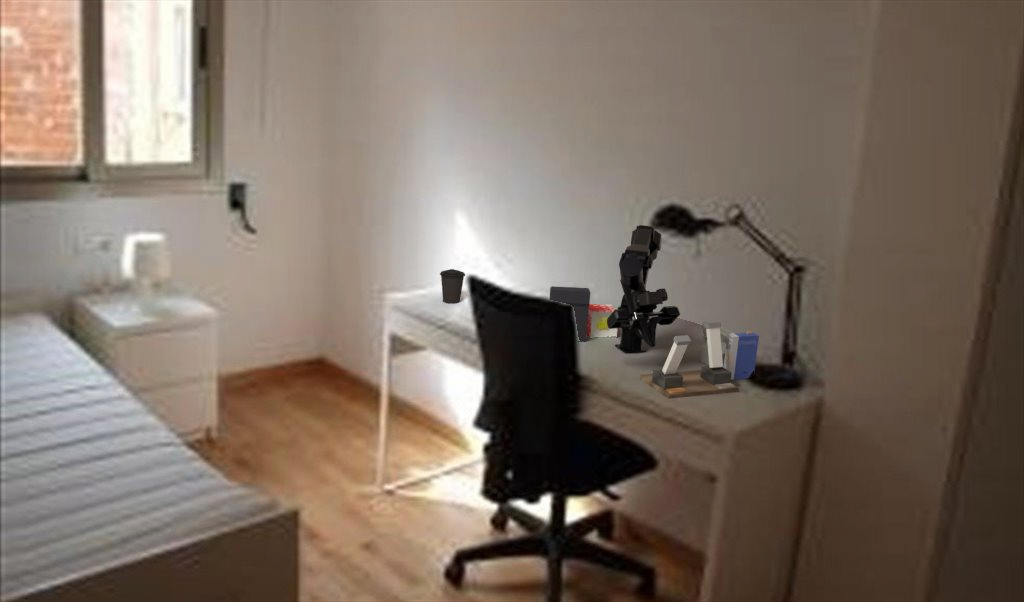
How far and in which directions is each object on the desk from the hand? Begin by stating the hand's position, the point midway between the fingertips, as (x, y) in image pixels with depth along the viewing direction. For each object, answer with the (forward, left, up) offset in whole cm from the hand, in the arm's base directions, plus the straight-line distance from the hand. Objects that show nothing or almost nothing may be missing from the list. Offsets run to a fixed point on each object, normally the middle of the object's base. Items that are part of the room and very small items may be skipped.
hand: (652, 346), depth 241 cm
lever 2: (+9, +14, -4) cm, 17 cm away
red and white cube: (-36, +4, -8) cm, 38 cm away
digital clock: (-4, +24, -8) cm, 26 cm away
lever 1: (+9, 0, -4) cm, 9 cm away
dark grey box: (-33, -8, -8) cm, 35 cm away
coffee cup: (-77, -28, -8) cm, 83 cm away
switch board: (+8, +7, -8) cm, 13 cm away
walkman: (+6, +23, -8) cm, 25 cm away
